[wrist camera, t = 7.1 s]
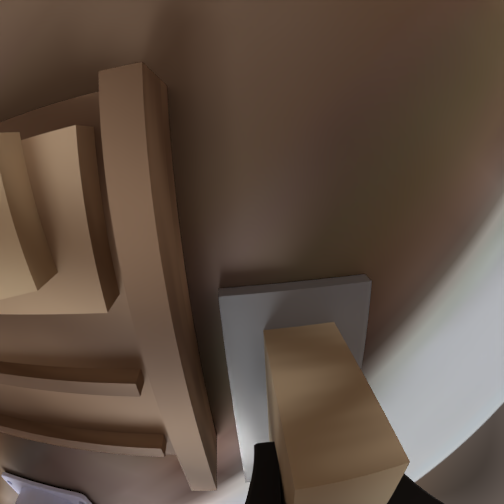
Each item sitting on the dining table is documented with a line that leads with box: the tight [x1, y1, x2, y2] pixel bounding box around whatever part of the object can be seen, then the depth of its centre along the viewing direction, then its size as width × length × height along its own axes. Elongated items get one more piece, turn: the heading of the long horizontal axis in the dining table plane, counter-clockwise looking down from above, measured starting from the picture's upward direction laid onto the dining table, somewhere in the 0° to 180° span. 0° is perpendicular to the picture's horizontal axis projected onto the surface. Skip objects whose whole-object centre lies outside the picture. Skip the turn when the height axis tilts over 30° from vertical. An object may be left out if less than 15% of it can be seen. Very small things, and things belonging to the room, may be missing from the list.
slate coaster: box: [218, 274, 372, 482], centre depth 12 cm, size 11×5×1 cm, turn 4°
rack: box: [0, 62, 217, 491], centre depth 9 cm, size 14×14×3 cm
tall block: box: [263, 322, 410, 504], centre depth 9 cm, size 2×9×6 cm, turn 4°
